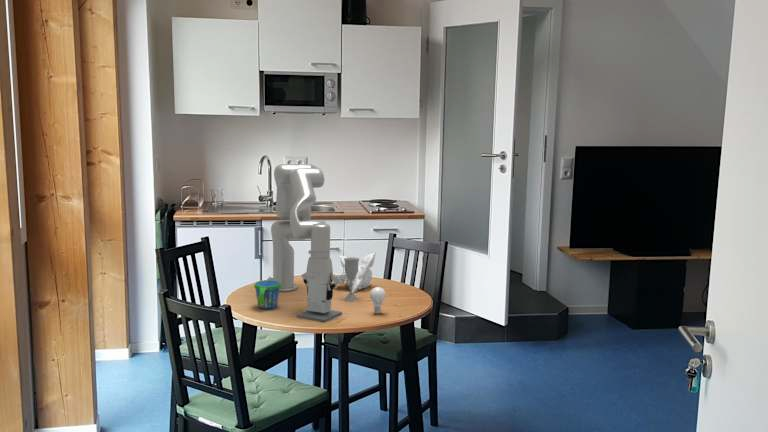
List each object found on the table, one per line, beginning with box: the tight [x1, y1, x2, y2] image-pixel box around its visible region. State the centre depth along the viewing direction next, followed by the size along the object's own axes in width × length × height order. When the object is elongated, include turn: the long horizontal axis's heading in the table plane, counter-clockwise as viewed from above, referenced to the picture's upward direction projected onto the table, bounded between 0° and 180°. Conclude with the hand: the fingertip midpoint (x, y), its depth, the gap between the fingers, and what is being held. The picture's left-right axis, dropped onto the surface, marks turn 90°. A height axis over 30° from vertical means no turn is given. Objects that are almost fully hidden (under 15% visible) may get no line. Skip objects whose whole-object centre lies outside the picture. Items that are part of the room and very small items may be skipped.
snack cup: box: [253, 279, 281, 310], centre depth 274 cm, size 16×10×10 cm
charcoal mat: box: [296, 309, 343, 323], centre depth 264 cm, size 13×13×1 cm
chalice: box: [344, 256, 360, 302], centre depth 288 cm, size 7×7×18 cm
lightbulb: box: [369, 286, 387, 315], centre depth 268 cm, size 6×6×11 cm
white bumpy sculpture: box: [334, 251, 377, 294], centre depth 310 cm, size 19×20×20 cm
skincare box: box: [306, 274, 332, 313], centre depth 263 cm, size 8×6×15 cm
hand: (319, 297), depth 263 cm, fingers closed on skincare box, 8 cm apart
